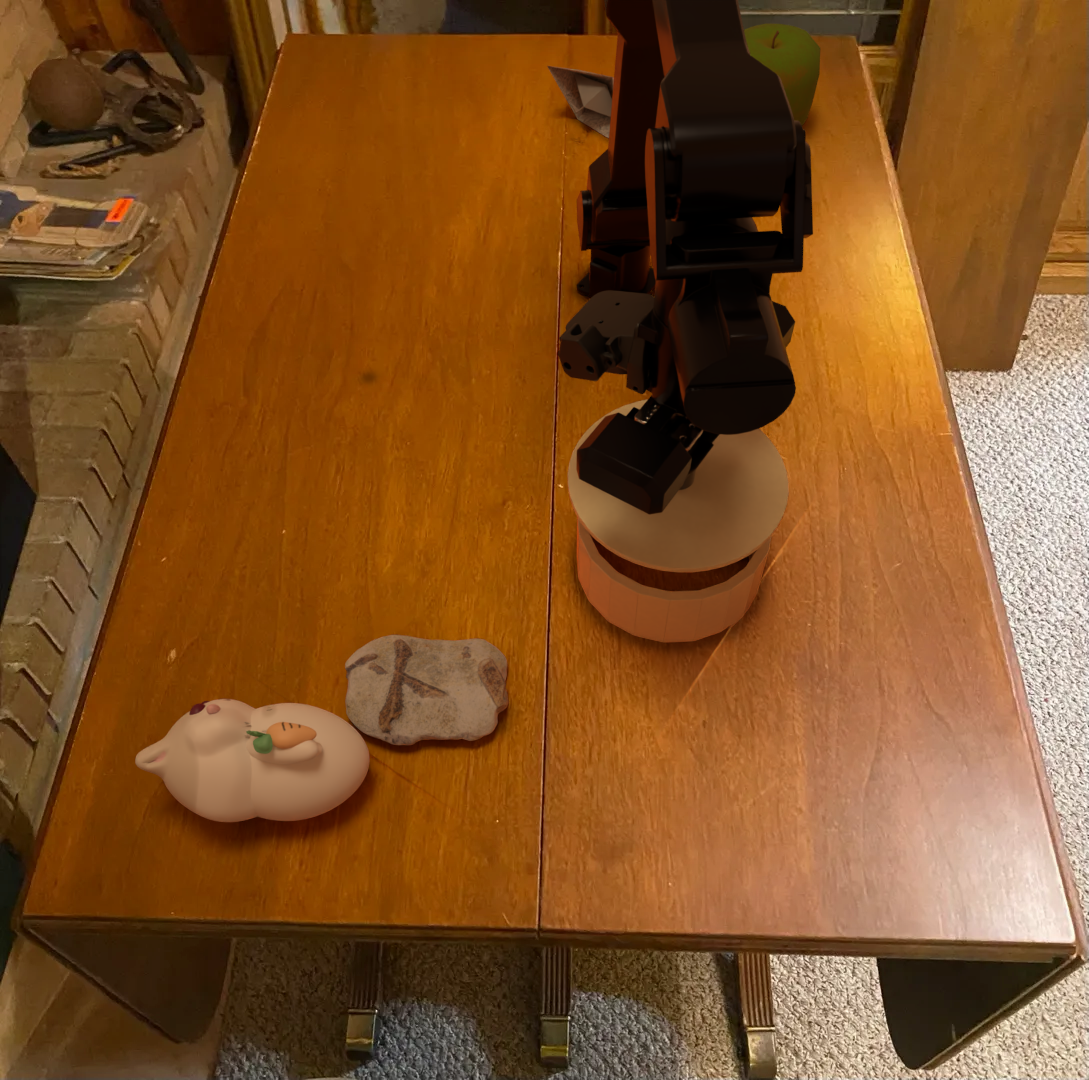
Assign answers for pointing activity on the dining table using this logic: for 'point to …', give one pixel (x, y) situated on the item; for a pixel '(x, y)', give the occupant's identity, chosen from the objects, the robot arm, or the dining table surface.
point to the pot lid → (693, 507)
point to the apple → (788, 61)
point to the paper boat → (587, 96)
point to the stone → (426, 689)
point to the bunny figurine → (258, 761)
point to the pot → (666, 598)
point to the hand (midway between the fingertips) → (678, 473)
